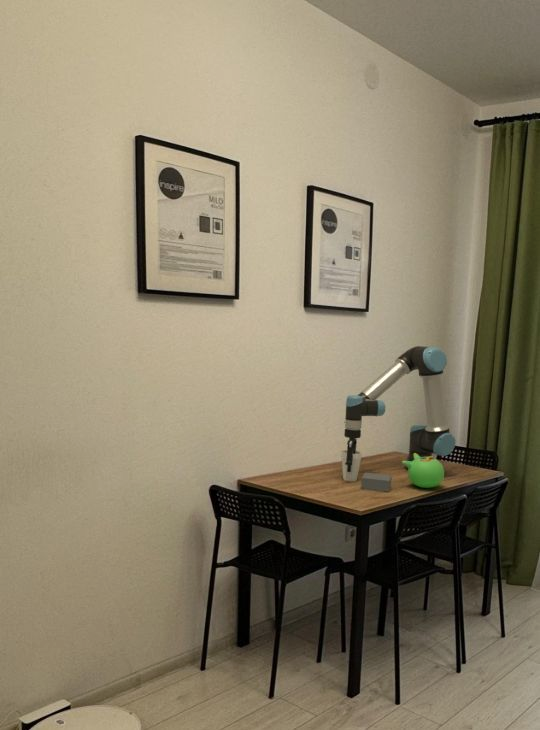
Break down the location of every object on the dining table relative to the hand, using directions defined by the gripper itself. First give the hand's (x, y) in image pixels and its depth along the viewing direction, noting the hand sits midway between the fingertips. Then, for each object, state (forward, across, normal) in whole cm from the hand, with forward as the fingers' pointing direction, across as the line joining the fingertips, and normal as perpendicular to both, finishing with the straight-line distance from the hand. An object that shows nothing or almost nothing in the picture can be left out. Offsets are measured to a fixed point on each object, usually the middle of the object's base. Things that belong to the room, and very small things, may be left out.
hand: (350, 476), depth 292 cm
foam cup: (+2, 0, 0) cm, 2 cm away
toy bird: (+2, -1, +34) cm, 34 cm away
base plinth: (+2, +10, +13) cm, 16 cm away
